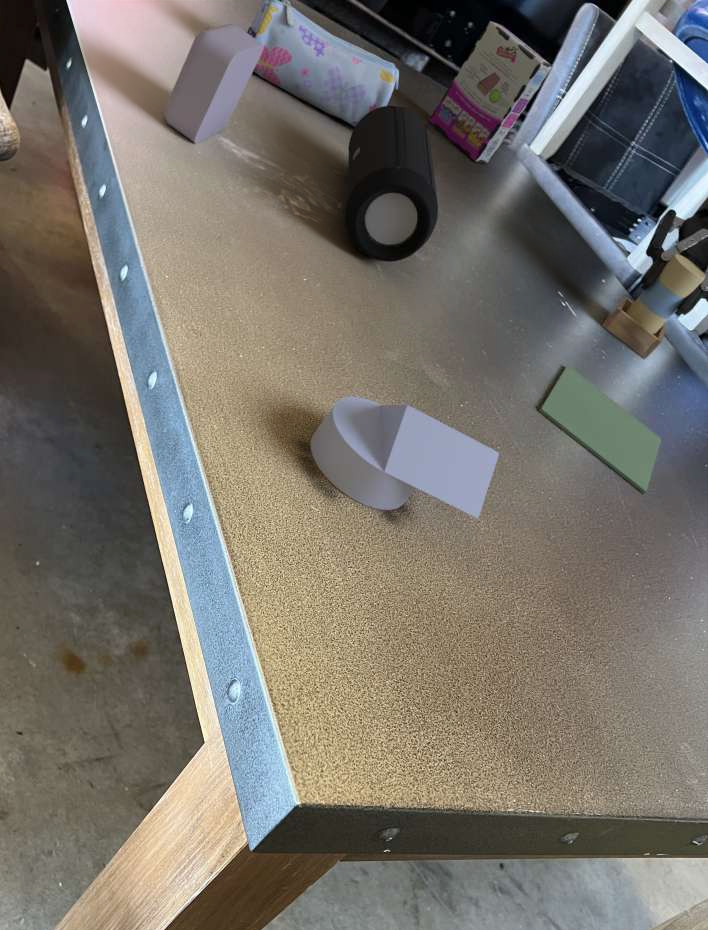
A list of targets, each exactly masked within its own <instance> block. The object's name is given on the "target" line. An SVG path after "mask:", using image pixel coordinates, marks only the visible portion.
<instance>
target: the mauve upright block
mask: <svg viewBox="0 0 708 930" xmlns="http://www.w3.org/2000/svg"><path fill="white" fill-rule="evenodd" d="M262 50H263V44H261V43H260V42H259V41H257V40H256V39H255V38H253V37H252V36H250V35H249V34H248V33H247V32H246V31H245V30H244V29H242V28H241V27H239V26H238V25H237V24H234V23H229V24H224V25H220V26H217V27H212V28H207V29H204V30H202V31H200V32H199V33H198V34H197V35H196V36H195V38H194V40H193V41H192V44H191V47H190V48H189V51H188V54H187V56H186V57H185V61H184V63H183V65H182V67H181V69H180V72H179V75H178V77H177V79H176V81H175V84H174V86H173V88H172V90H171V93H170V95H169V98H168V100H167V102H166V105H165V107H164V111H163V116H164V118H165V122H166V123H167V124H168V125H169V126H171V127H172V128H173V129H175V130H176V131H177V132H179V133H180V134H182V135H183V136H184V137H186V138H187V139H189V140H190V141H192V142H193V143H194V144H198V143H200V142H202V141H204V140H206V139H208V138H210V137H212V136H214V135H217V134H219V133H221V132H222V131H223V130H224V129H225V128H226V127H227V125H228V124H229V122H230V120H231V118H232V116H233V114H234V111H235V109H236V108H237V105H238V104H239V102H240V99H241V97H242V95H243V93H244V91H245V89H246V87H247V85H248V82H249V80H250V79H251V77H252V74H253V73H254V72H253V70H254V68H255V66H256V64H257V62H258V60H259V58H260V55H261V53H262Z"/></svg>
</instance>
